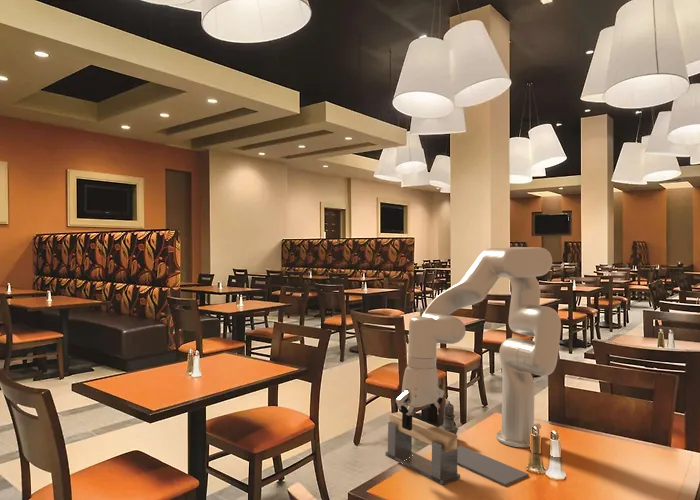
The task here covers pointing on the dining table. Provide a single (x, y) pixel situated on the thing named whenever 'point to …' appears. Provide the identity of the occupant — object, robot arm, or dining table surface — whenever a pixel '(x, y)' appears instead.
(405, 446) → the rack
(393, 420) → the rail
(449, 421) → the grey figurine
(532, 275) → the robot arm
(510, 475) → the mat
